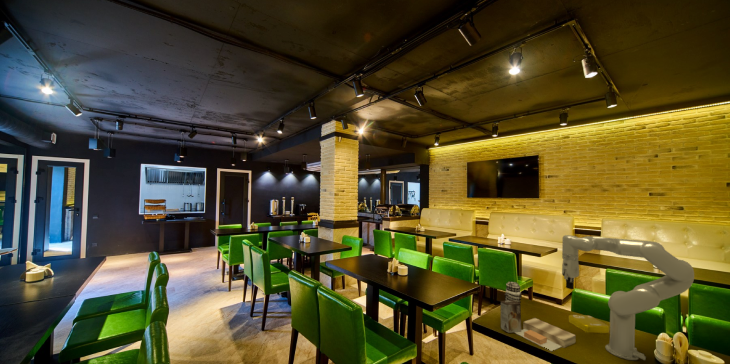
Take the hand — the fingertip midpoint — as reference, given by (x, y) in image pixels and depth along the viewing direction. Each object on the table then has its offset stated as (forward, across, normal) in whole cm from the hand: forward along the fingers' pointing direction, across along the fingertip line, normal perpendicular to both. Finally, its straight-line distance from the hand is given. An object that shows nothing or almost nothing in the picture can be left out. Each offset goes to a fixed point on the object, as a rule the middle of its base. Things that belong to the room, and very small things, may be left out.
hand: (569, 288), depth 161 cm
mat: (+27, -23, +6) cm, 36 cm away
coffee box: (+27, -27, +19) cm, 42 cm away
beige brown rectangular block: (+27, -12, +5) cm, 30 cm away
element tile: (+28, +23, 0) cm, 36 cm away
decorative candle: (+27, -18, +24) cm, 40 cm away
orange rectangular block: (+24, -24, +6) cm, 35 cm away
